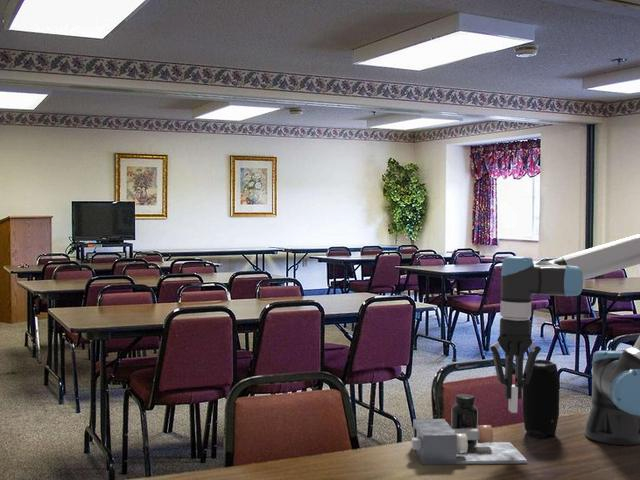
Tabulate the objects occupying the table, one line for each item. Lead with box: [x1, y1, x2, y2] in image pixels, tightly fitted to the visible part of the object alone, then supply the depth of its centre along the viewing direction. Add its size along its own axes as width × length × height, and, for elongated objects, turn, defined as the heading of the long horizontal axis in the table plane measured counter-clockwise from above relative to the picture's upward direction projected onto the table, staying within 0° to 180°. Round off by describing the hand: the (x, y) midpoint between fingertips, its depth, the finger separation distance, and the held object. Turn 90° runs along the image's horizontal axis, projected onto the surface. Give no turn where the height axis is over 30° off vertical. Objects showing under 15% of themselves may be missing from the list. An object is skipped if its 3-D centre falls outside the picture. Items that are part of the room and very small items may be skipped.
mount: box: [412, 418, 528, 466], centre depth 188 cm, size 25×14×7 cm, turn 93°
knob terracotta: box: [452, 424, 494, 443], centre depth 191 cm, size 13×4×4 cm, turn 93°
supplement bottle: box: [450, 393, 479, 443], centre depth 198 cm, size 7×7×12 cm
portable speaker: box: [522, 359, 560, 439], centre depth 205 cm, size 9×9×20 cm
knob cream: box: [410, 434, 468, 452], centre depth 184 cm, size 13×4×4 cm, turn 93°
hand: (512, 411), depth 192 cm, fingers closed
